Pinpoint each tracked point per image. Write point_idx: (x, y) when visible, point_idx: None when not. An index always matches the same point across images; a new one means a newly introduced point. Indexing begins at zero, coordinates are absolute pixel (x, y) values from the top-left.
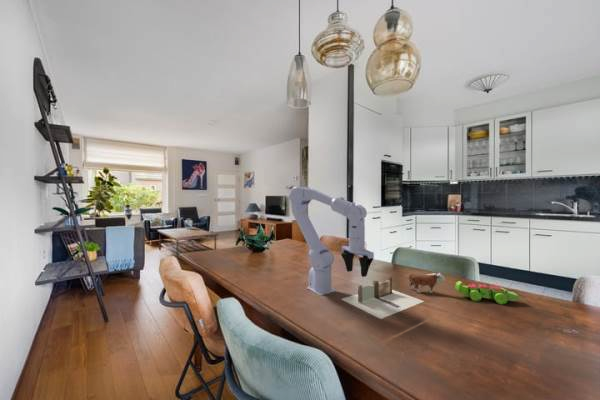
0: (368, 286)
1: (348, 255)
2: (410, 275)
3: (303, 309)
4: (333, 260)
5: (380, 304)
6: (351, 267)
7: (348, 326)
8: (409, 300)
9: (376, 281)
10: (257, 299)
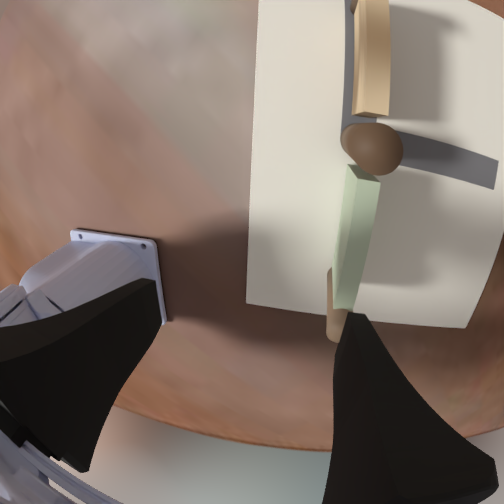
0: (361, 242)
1: (68, 436)
2: None
3: (231, 410)
4: (9, 309)
5: (426, 212)
6: (136, 305)
7: None
8: (487, 53)
9: (380, 141)
10: (129, 411)
